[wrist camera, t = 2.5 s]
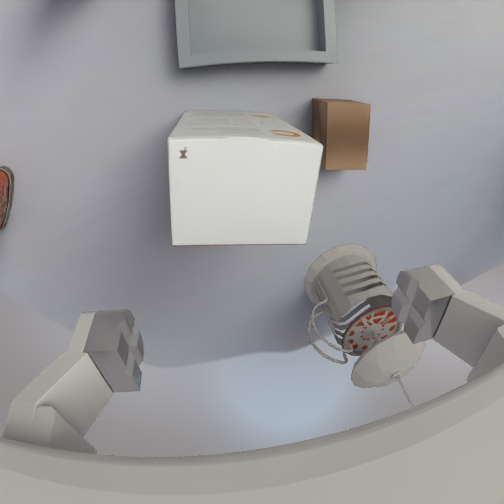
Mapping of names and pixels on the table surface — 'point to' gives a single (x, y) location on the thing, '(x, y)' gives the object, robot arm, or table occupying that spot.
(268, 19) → the slate tray
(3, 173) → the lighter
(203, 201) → the small box
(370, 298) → the french press
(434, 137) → the table surface
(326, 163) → the walnut block
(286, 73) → the table surface
